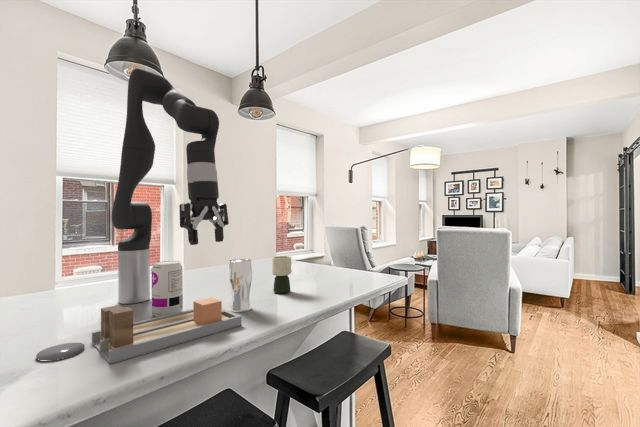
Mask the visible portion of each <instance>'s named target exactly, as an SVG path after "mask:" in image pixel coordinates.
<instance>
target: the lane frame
mask: <svg viewBox="0 0 640 427" xmlns="http://www.w3.org/2000/svg"><path fill="white" fill-rule="evenodd" d="M191 312H194V308H192V309H189V310H182V311H181V312H179V313H174V314H170V315H165V316H161V317H152V318H148V319H143V320H139V321H133V326H135V325H140V324H144V323H148V322H153V321H157V320H161V319H166V318H170V317H174V316H178V315H183V314H187V313H191ZM222 315H224V316H226V317H228V318H227V319H224V320H220V321H216V322H212V323H209V324H205V325H201V326H197V327H194V328H190V329H186V330H182V331H179V332H175V333H171V334H167V335H164V336H160V337H156V338H152V339H149V340H145V341H141V342H137V343H134V344H130V345H126V346H123V347H119V348H115V349H111V350H108V342H110V338H108V339H104V340H100V334H101V329H100V330H99V329H98V330H94V331H91V344H92V343H93V344H94V345H93V344H92V345H93V347H94V348H96V350H97V349H98V350H97V351H98V352H99V353H100V355H101V356H103V358H104V359H105V361H106V362H107V363H108V364H109V365H114V364H116V363H120V362H124V361H126V360H130V359H134V358H137V357H141V356H143V355H146V354H149V353H154V352H156V351H157V352H158V351H161V350H164V349H167V348H168V349H169V348H170V347H174V346H177V345H180V344H184V343H189V342H191V341H194V340H197V339H202V338H204V337H208V336H211V335H215V334H219V333H221V332H224V331H227V330H232V329H235V328H238V327H242V324H243V323H242V315H241V314H237V313H236V312H232V311H231V310H227V309H225V308H222ZM191 321H194V318H190V319H185V320H181V321H177V322H173V323H169V324H165V325H161V326H157V327H153V328H149V329H145V330H140V331H136V332H133V336H135V335H139V334H143V333H147V332H151V331H155V330H159V329H163V328H167V327H171V326H175V325H179V324H183V323H187V322H191Z"/></svg>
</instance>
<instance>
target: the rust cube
mask: <svg viewBox="0 0 640 427" xmlns="http://www.w3.org/2000/svg"><path fill="white" fill-rule="evenodd" d="M192 302H193V309H194V322H196V323H198V324H200V325H205V324H209V323H212V322H216V321H220V320H222V309H223V307H222V300H219V299H217V298H215V297H207V298H204V299H199V300H194V301H192Z"/></svg>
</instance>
